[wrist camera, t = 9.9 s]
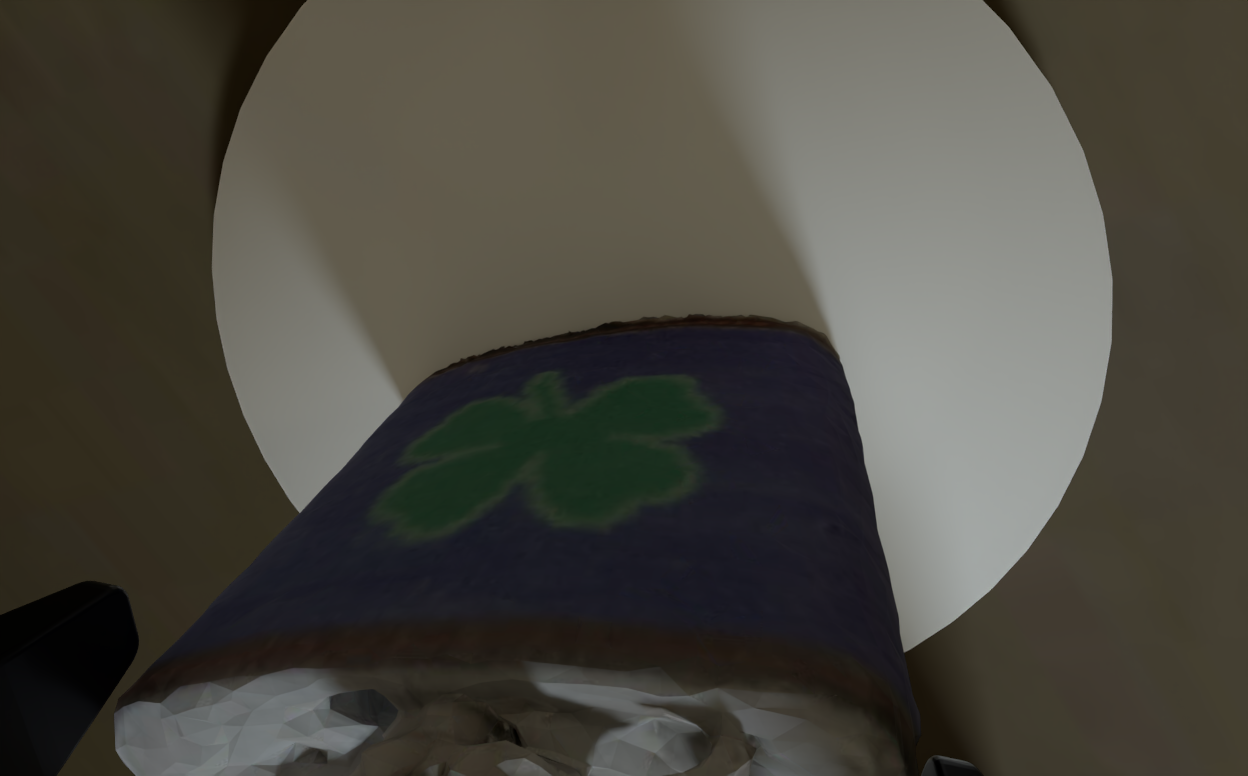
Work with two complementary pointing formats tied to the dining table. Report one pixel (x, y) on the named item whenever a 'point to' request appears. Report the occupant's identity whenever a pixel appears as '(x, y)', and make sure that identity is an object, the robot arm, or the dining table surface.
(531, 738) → the flask
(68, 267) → the dining table surface
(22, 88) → the dining table surface
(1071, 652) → the dining table surface
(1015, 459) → the plate
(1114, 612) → the dining table surface
